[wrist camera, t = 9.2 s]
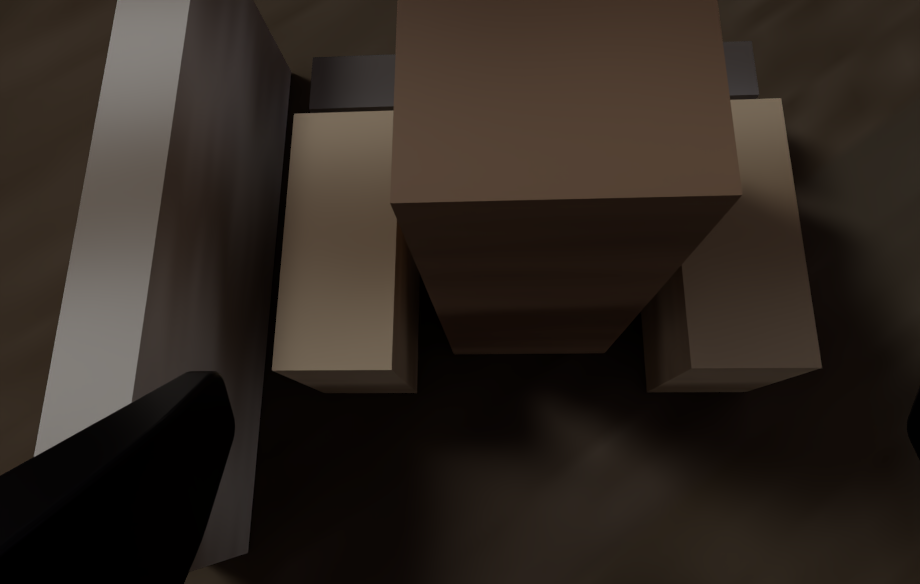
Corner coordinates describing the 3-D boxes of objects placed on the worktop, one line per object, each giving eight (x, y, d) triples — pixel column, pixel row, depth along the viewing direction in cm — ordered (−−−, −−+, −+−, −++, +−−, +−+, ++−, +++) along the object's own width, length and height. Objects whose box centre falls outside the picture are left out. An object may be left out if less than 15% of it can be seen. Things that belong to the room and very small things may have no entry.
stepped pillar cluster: (765, 559, 15) (929, 616, 9) (186, 551, 16) (7, 598, 10) (706, 56, 19) (795, -125, 13) (241, 73, 20) (134, -90, 14)
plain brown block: (604, 353, 17) (742, 195, 7) (454, 354, 17) (389, 203, 7) (596, 213, 18) (705, -89, 8) (454, 216, 18) (400, -73, 8)
